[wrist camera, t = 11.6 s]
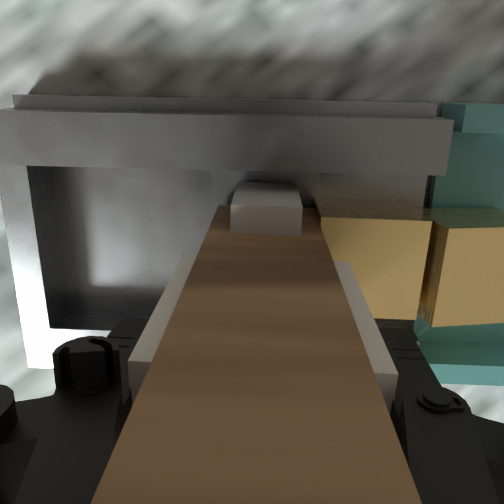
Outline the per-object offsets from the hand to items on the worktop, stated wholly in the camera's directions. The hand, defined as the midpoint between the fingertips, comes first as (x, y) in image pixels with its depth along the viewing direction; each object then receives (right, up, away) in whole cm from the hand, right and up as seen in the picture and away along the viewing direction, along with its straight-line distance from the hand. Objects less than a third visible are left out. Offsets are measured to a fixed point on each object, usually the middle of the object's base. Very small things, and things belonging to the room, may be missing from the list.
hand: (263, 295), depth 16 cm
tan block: (+8, +2, +5) cm, 10 cm away
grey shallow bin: (-2, +2, +6) cm, 7 cm away
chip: (+4, +2, +5) cm, 6 cm away
